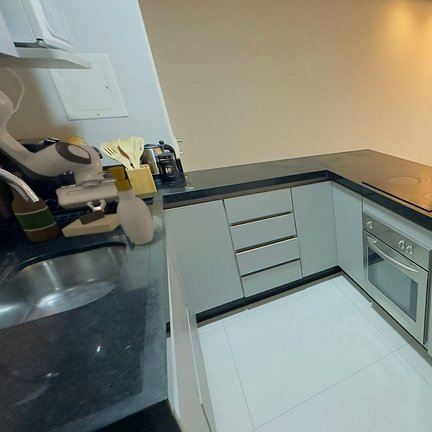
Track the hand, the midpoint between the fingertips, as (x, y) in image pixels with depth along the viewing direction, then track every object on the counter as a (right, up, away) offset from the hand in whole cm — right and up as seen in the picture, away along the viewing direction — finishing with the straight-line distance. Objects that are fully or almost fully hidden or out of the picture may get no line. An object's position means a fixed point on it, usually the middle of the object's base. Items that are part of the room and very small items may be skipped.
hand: (99, 211), depth 115 cm
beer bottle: (-10, -10, -9) cm, 17 cm away
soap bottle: (+27, -10, -12) cm, 32 cm away
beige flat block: (+1, -6, -2) cm, 7 cm away
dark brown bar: (+1, -3, -3) cm, 5 cm away
